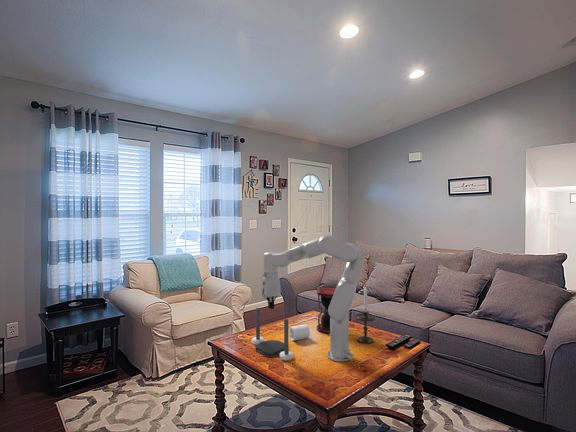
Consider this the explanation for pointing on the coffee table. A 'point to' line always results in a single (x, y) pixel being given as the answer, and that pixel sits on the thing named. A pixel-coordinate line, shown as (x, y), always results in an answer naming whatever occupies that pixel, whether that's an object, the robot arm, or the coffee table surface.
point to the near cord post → (286, 344)
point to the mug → (299, 332)
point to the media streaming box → (270, 348)
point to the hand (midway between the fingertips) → (271, 308)
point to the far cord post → (257, 329)
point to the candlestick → (365, 321)
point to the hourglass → (325, 300)
